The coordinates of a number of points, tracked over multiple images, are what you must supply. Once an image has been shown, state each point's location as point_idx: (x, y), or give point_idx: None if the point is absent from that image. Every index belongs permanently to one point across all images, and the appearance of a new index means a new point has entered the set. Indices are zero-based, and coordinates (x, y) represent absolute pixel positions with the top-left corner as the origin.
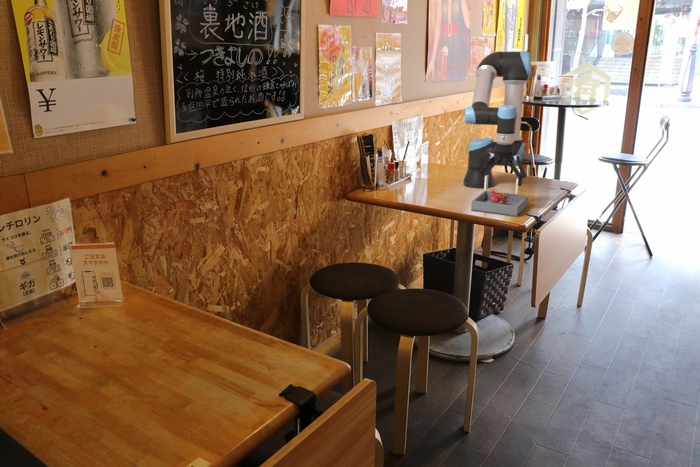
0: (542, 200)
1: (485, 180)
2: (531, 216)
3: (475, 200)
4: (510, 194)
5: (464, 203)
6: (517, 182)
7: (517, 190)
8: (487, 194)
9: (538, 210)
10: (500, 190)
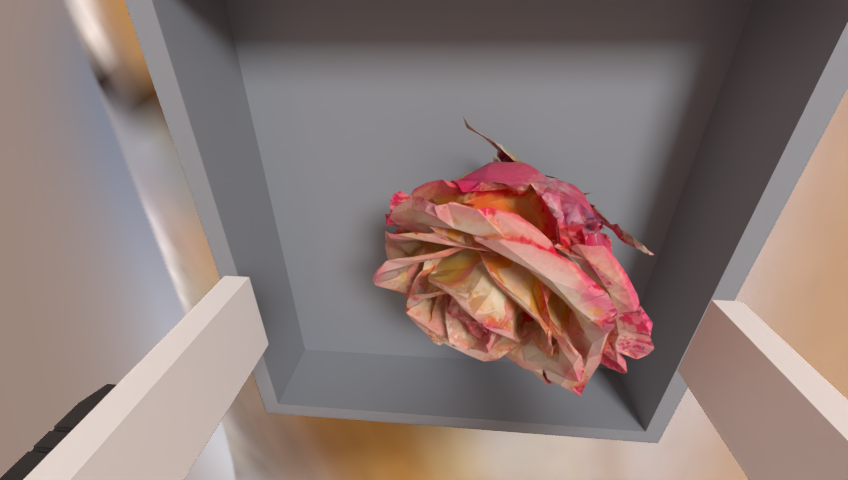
0: (275, 450)
1: None
2: (117, 71)
3: (819, 50)
4: (414, 411)
5: (823, 231)
6: (68, 445)
7: (196, 320)
8: (619, 404)
9: (182, 270)
10: (470, 311)
